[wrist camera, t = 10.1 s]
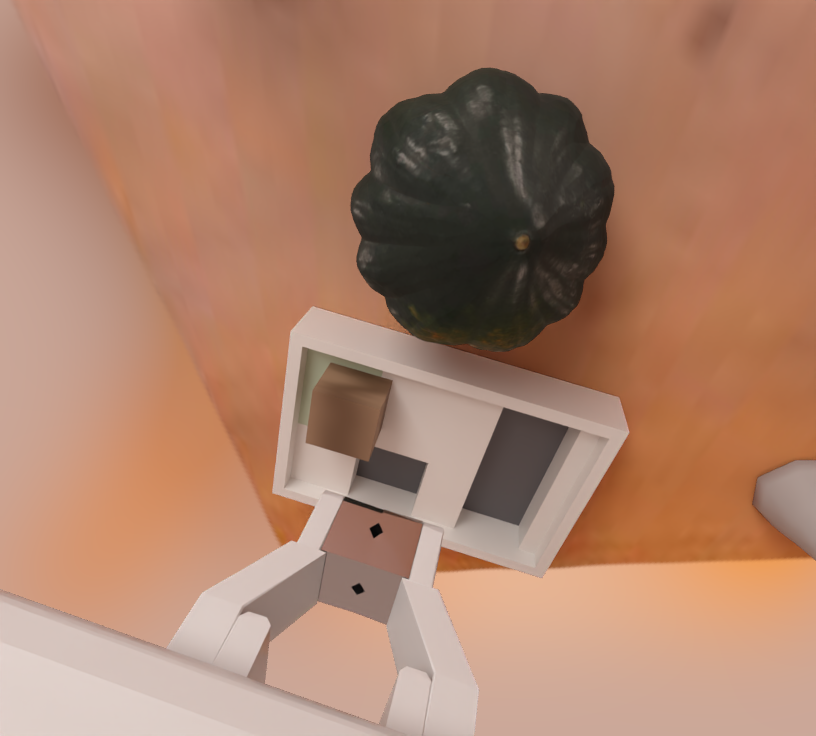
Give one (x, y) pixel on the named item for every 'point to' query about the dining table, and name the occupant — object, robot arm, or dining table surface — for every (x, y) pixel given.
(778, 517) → the flask
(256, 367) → the dining table surface
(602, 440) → the track
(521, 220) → the squash
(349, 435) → the walnut block
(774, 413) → the dining table surface
